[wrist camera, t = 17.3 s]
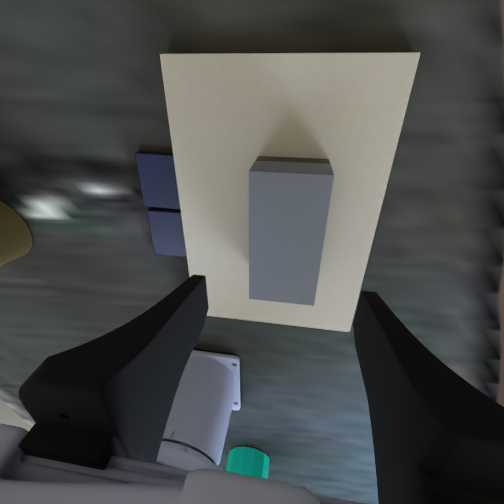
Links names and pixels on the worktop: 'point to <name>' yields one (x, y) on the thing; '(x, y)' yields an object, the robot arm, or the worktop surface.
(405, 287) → the worktop surface
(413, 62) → the memo board
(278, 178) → the eraser
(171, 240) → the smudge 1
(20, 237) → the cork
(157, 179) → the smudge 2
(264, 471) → the candle
